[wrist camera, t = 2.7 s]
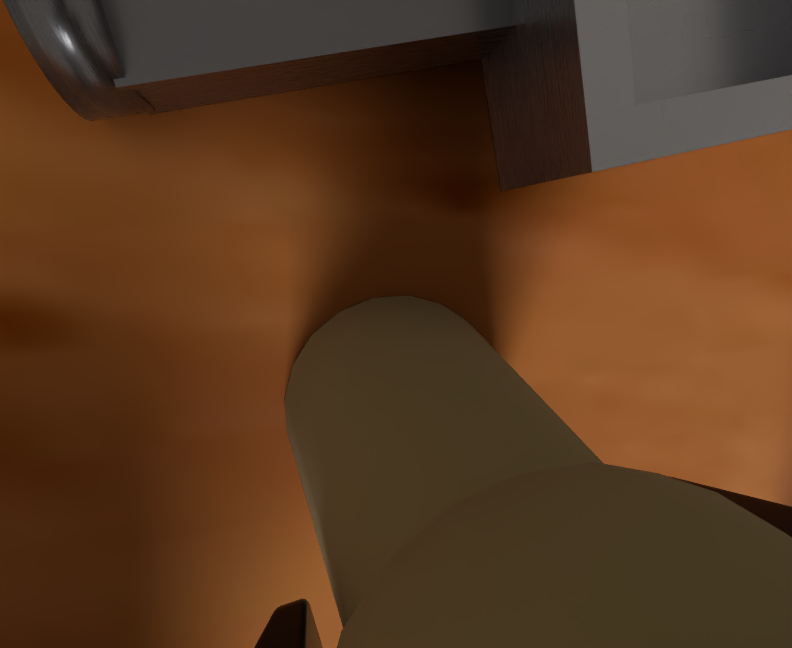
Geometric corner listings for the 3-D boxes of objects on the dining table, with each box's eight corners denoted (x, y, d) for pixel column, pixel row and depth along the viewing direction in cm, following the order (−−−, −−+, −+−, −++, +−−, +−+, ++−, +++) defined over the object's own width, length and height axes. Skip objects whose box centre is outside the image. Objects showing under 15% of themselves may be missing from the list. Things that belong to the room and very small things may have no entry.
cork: (238, 372, 12) (-241, 1475, 1) (436, 252, 12) (1252, 362, 2) (357, 540, 14) (574, 1651, 3) (530, 428, 14) (1252, 1034, 3)
